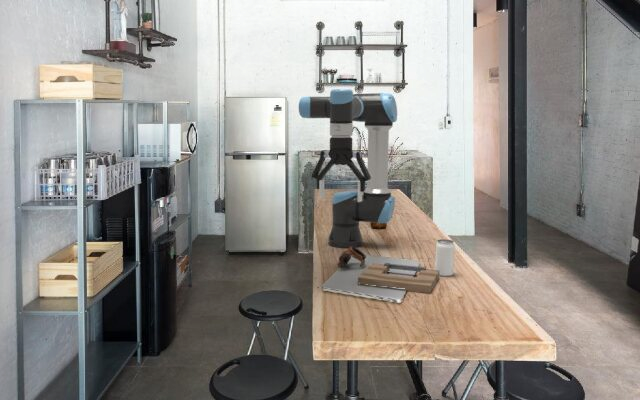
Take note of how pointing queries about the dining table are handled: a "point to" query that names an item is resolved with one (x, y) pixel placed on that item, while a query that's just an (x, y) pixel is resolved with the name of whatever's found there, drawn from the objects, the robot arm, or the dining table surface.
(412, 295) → the dining table surface
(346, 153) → the robot arm
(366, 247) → the dining table surface
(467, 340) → the dining table surface
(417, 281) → the wooden frame board
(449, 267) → the can
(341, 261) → the pottery mug
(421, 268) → the cross rail
